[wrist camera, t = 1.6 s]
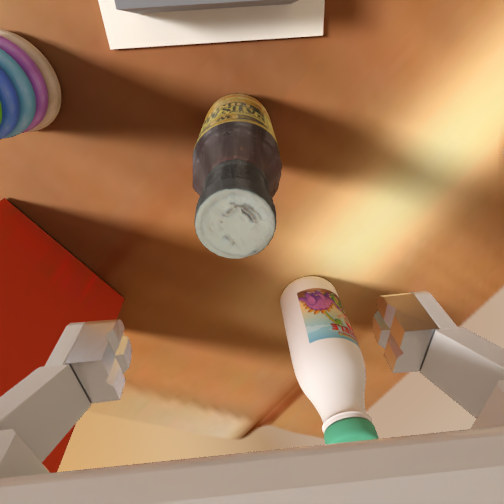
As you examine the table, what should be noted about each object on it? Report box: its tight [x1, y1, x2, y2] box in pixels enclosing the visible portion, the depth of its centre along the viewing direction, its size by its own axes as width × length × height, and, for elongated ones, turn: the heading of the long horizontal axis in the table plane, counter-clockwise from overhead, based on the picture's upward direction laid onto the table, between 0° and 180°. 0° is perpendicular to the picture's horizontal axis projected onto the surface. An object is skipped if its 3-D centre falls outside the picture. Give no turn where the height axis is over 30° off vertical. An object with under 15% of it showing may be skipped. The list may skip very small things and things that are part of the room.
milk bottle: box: [280, 276, 378, 444], centre depth 37 cm, size 8×8×20 cm
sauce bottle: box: [193, 93, 282, 259], centre depth 24 cm, size 6×6×20 cm
